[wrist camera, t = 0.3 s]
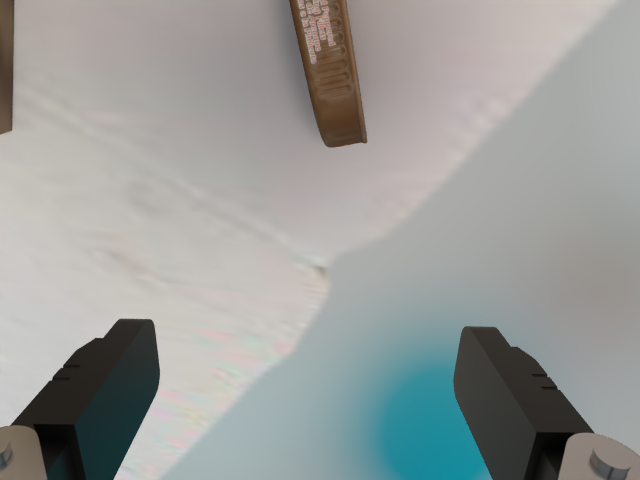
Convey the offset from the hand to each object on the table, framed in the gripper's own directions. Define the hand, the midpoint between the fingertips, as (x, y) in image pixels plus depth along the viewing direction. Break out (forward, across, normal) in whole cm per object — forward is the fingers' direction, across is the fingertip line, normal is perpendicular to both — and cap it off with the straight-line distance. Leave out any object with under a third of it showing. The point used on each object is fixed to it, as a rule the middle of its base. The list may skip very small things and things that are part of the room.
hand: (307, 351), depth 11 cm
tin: (+21, 0, -11) cm, 24 cm away
